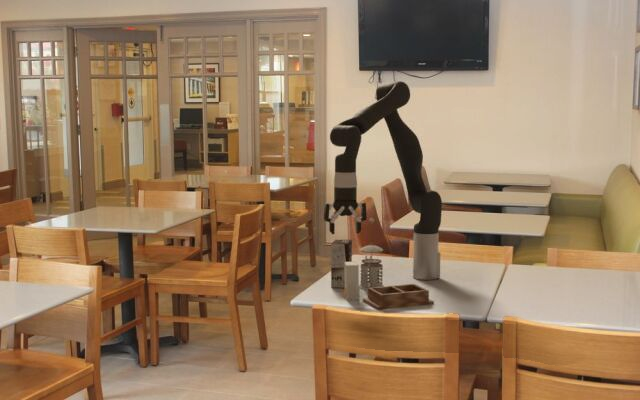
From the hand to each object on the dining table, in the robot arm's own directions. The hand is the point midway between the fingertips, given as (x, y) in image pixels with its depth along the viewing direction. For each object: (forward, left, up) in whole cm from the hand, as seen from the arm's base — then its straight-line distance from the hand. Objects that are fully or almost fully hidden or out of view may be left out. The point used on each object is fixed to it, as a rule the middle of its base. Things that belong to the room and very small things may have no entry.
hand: (345, 233), depth 257 cm
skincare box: (-1, +3, -22) cm, 22 cm away
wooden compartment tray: (-13, +14, -22) cm, 29 cm away
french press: (-13, -8, -22) cm, 27 cm away
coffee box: (-5, -16, -22) cm, 28 cm away
